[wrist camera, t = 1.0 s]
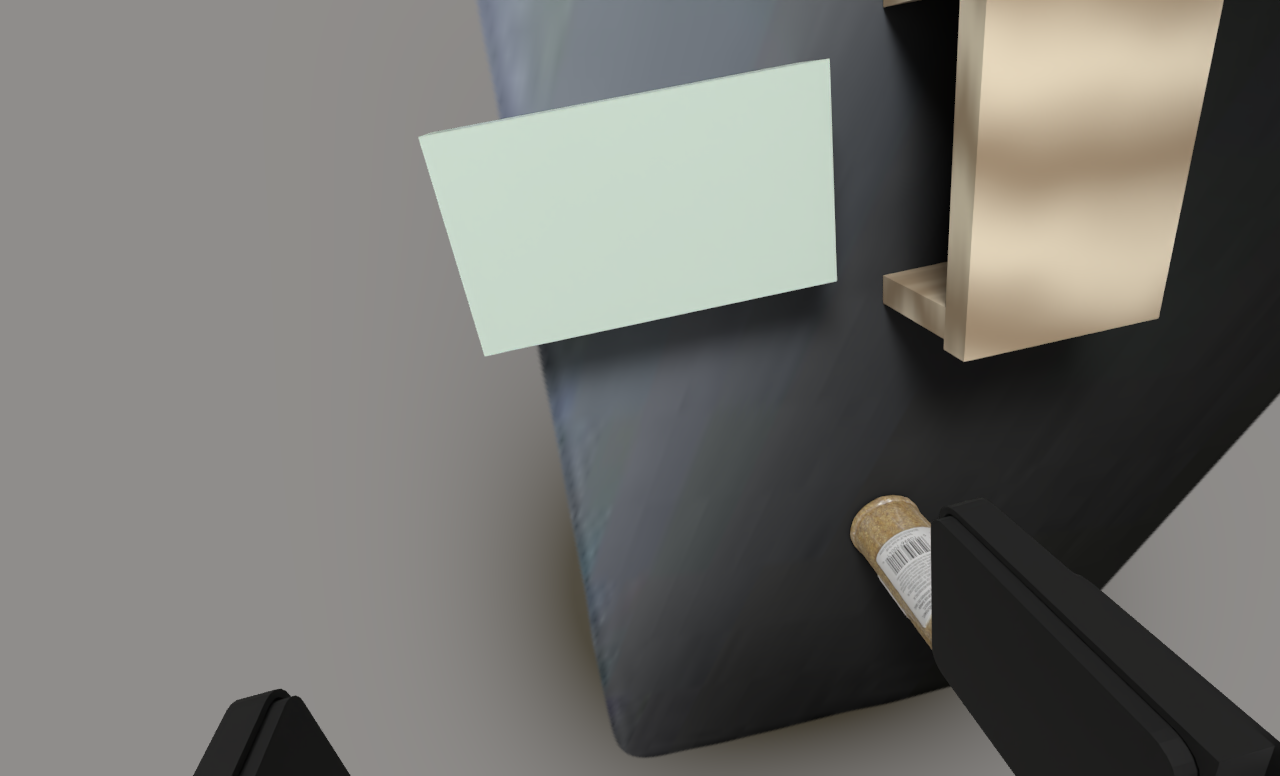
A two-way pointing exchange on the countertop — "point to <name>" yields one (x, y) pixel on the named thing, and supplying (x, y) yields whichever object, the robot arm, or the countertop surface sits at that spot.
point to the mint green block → (640, 204)
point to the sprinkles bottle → (899, 554)
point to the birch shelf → (1062, 169)
